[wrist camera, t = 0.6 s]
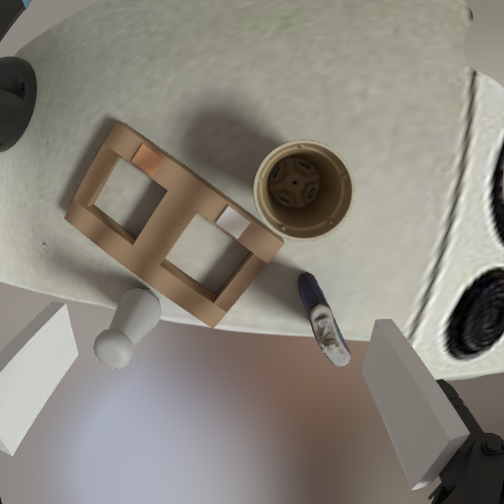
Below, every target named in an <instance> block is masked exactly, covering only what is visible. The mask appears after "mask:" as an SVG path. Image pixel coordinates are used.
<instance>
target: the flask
mask: <svg viewBox="0 0 504 504" xmlns="http://www.w3.org/2000/svg"><path fill="white" fill-rule="evenodd" d="M297 283H298V289H299V292H300V296H301V298H302V301H303V303H304V305H305V308H306V311H307V314H308V317H309V320H310V323H311V327H312V330H313V333H314V336H315V338H316V340H317V342H318V344H319V345H320V347H321V349H322V350H323V353H325V355H326V356H327V358H328V359H329V360H330V361H331V362H332V363H333V364H334V365H336V366H344V365H346V364H347V363H348V362H349V361H350V360H351V354H350V351H349V349H348V347H347V345H346V343H345V341H344V338H343V337H342V334H341V332H340V329H339V327H338V325H337V323H336V320H335V318H334V317H333V314H332V311H331V308H330V306H329V305H328V303H327V301H326V299H325V297H324V294H323V292H322V290H321V289H320V287H319V285H318V283H317V280H316V279H315V276H314V275H312V274H310V273H308V272H306V273H305V274H302V275H300V277H299V278H298V281H297Z"/></svg>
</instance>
